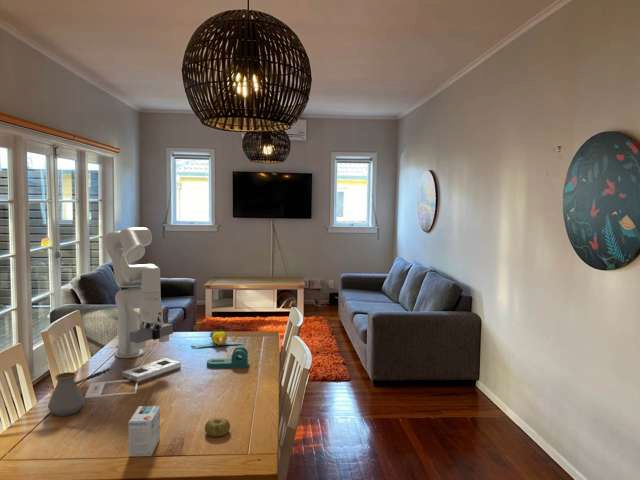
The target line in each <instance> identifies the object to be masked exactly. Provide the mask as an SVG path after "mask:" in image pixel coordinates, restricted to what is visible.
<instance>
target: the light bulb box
mask: <svg viewBox="0 0 640 480" xmlns="http://www.w3.org/2000/svg"><path fill="white" fill-rule="evenodd" d="M160 409H161V406H160V405H145V406H144V405H143V406H142V405H139V406H138V407H137V408H136V410H135V412H134V413H133V415H132V416H131V418H130V419H129V420H128V422H127V424H128V456H129V457H151V456H152V455H153V453H154V451H155V450H156V447H157V445H158V444H159V441H160V439H161V418H160V417H161V413H160V412H161V410H160Z"/></svg>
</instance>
